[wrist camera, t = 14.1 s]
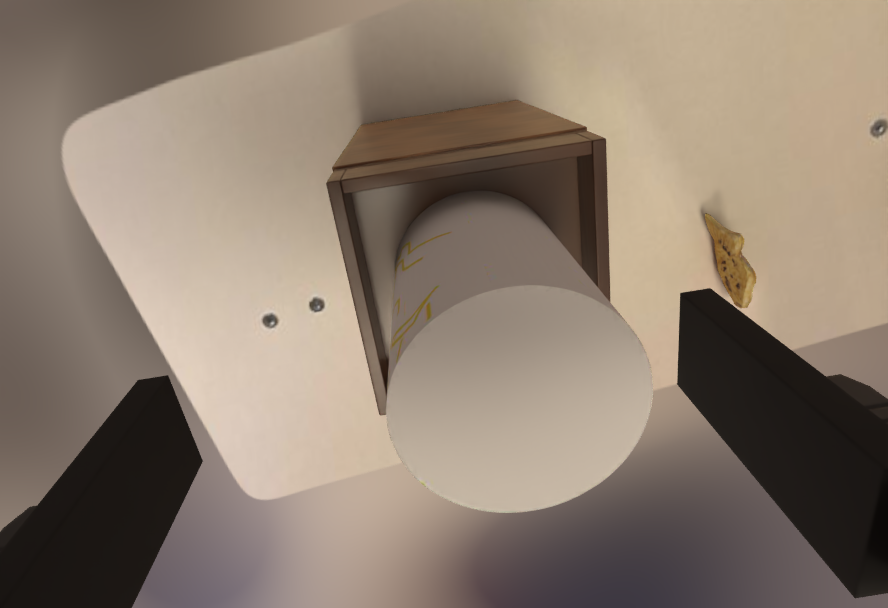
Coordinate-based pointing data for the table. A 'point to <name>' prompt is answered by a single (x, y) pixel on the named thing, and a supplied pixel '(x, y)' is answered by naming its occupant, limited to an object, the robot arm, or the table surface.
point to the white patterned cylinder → (507, 361)
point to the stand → (450, 132)
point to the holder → (447, 173)
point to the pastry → (732, 263)
